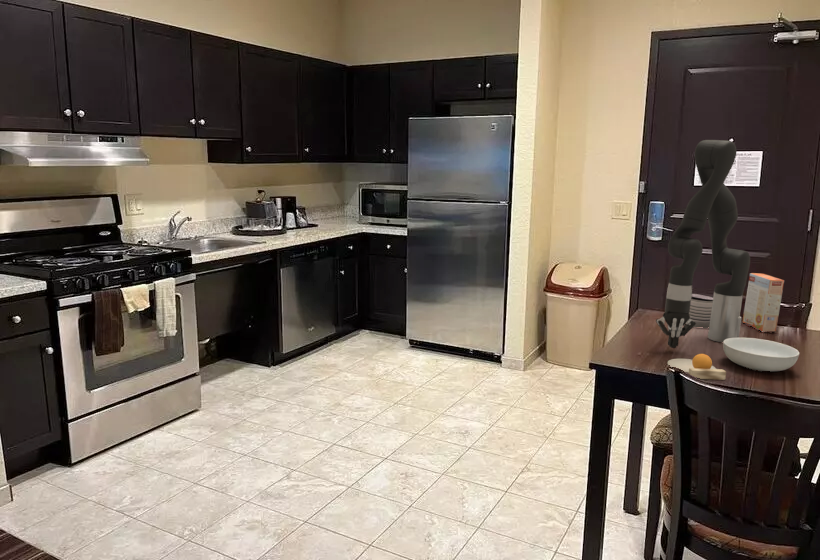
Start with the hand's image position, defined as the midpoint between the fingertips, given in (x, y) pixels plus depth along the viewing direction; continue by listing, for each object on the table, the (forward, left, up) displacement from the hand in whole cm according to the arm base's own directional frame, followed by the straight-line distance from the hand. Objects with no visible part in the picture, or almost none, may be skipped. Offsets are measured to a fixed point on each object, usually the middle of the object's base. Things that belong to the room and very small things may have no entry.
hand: (672, 347), depth 202 cm
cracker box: (-42, -42, -2) cm, 59 cm away
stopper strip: (-4, +24, -2) cm, 25 cm away
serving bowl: (-24, +9, -2) cm, 25 cm away
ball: (-4, +19, +1) cm, 19 cm away
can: (-19, -40, -2) cm, 44 cm away
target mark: (-3, +15, -2) cm, 15 cm away
